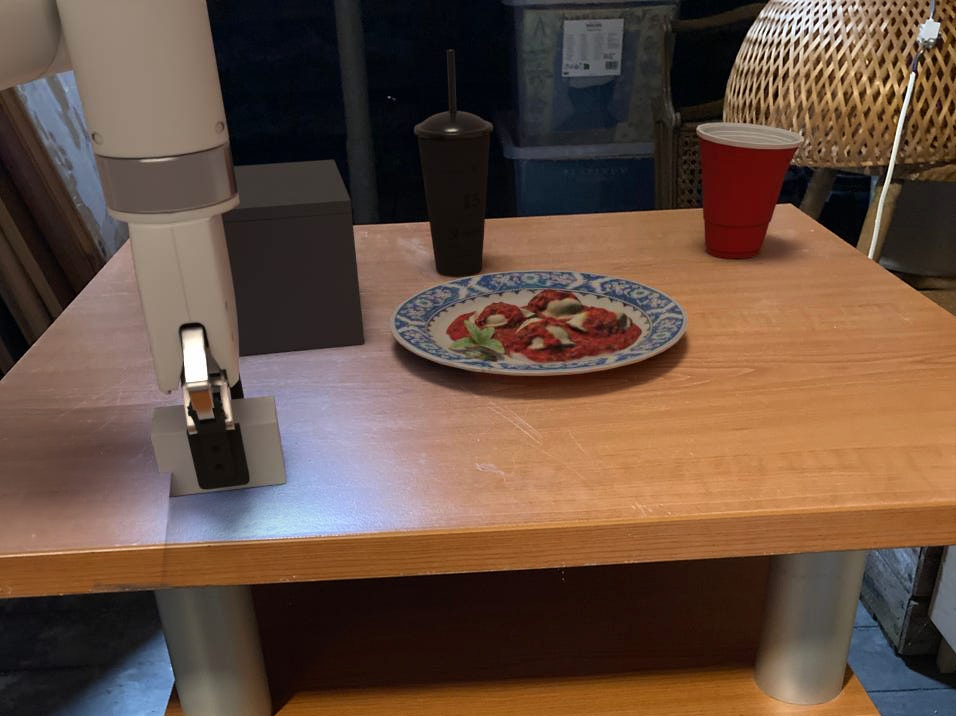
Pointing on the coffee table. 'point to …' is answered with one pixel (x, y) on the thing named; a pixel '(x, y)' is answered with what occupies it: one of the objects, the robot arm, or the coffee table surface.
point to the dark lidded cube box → (293, 258)
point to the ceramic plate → (539, 322)
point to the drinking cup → (455, 183)
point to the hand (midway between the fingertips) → (225, 452)
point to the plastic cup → (742, 183)
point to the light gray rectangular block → (256, 435)
